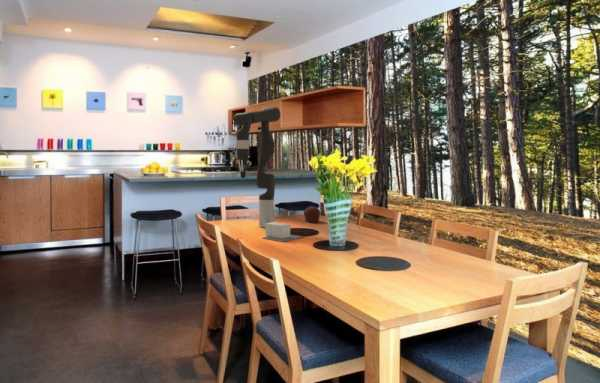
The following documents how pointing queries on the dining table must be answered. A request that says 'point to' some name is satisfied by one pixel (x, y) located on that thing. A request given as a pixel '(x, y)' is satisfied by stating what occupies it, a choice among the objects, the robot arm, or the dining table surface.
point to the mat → (292, 237)
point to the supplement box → (277, 230)
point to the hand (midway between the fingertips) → (242, 178)
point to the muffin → (312, 214)
